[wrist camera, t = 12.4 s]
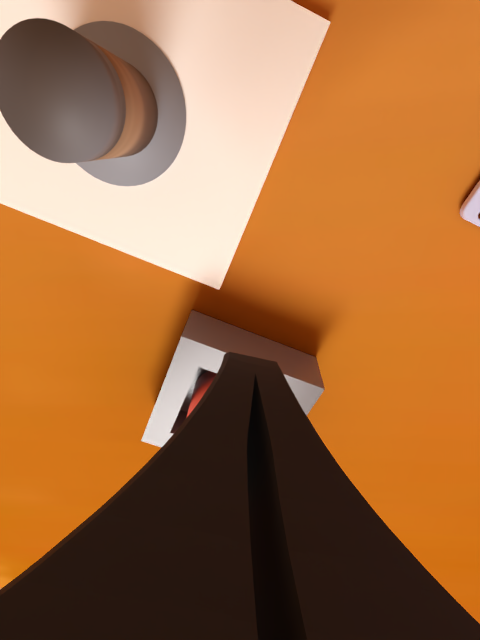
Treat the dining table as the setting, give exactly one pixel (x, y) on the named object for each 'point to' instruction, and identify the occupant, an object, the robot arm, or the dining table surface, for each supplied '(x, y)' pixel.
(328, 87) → the dining table surface
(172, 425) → the button housing
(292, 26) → the paper sheet
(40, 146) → the grey rounded cylinder
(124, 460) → the dining table surface
